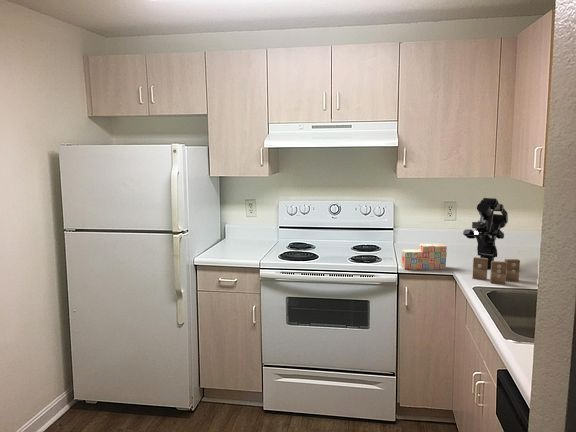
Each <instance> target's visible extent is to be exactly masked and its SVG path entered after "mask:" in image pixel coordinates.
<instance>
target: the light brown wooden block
mask: <svg viewBox="0 0 576 432" xmlns="http://www.w3.org/2000/svg"><path fill="white" fill-rule="evenodd" d="M489 279H490V280H489V282H490V284H494V285H495V284H496V285H506V281H505V280H506V262H505V261H504V260H503V261H500V260H499V261H498V260H494V261H491V269H490V278H489Z"/></svg>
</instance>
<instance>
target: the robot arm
mask: <svg viewBox="0 0 576 432" xmlns="http://www.w3.org/2000/svg"><path fill="white" fill-rule="evenodd" d="M476 209H477V212H478V214H479V215H480V218H479V220H478V221H472V223H471V228H470V229H468V228H467V229H464V230H463V232H462V234H463V236H464V237H466V238H467V239H473V240H474V239H476V241H477V247H476V248H477V249H476V251H477V256H479V258H488V265H487V270H491V261H495V258H498V250H497V246H496V240H498V239H500V240H501V239H502V240H503V239H505V238H504V237H505V233H504V232H503V231H502V230H501V229H503V228H505V227H506V225H507V224H508V222H509V215H508V212H507V210H506V209H505V208H504V204H502V203H500V202H499V201H498V199H497V198H496V197H495V198H493V197H483V198H482V199H481V201H480V202H479V203H478V204H477V205H476ZM494 212H500V213H501V214H500V213H499V214H498V213H494ZM473 229H474V230H475V231H474V230H473Z"/></svg>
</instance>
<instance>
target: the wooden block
mask: <svg viewBox="0 0 576 432" xmlns="http://www.w3.org/2000/svg"><path fill="white" fill-rule="evenodd" d="M472 262H473V263H472V280H479V281H480V280H482V281H487V278H488V269H487V265H488V258H480V256H479V257H477V256H475V257H473V261H472Z"/></svg>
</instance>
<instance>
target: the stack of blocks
mask: <svg viewBox="0 0 576 432" xmlns="http://www.w3.org/2000/svg"><path fill="white" fill-rule="evenodd" d="M447 248H448V247H447V245H445V244H443V243H419V246H418V249H402V250H401V268H403V269H404V270H409V271H410V270H415V271H416V270H421V271H422V270H446V269H447V268H446V267H447V266H446V265H447V251H448V250H447Z"/></svg>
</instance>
